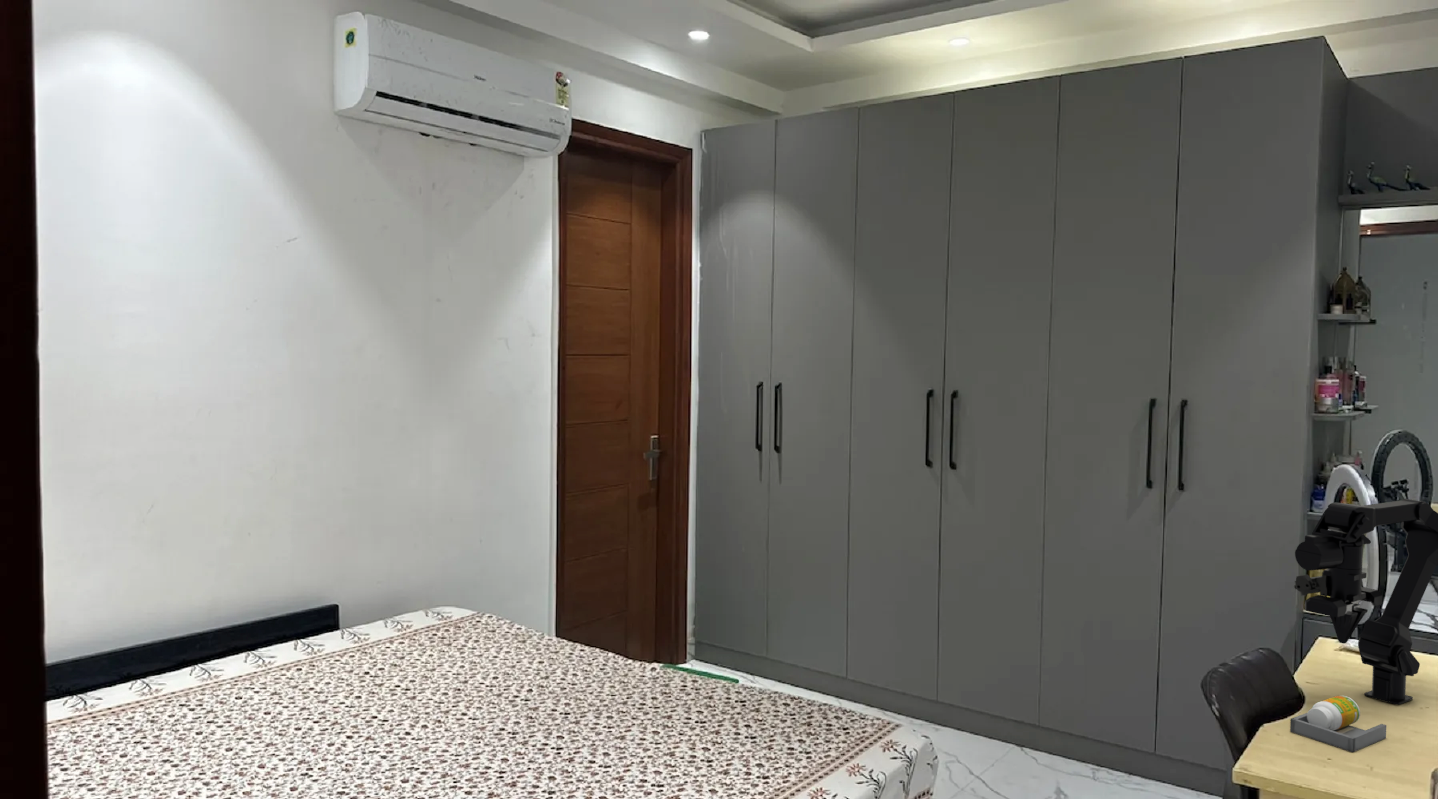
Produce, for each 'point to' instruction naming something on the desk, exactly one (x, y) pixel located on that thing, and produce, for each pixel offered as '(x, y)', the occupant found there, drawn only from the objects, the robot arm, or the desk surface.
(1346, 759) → the desk surface
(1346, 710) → the supplement bottle
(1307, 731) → the tray
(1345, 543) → the robot arm
